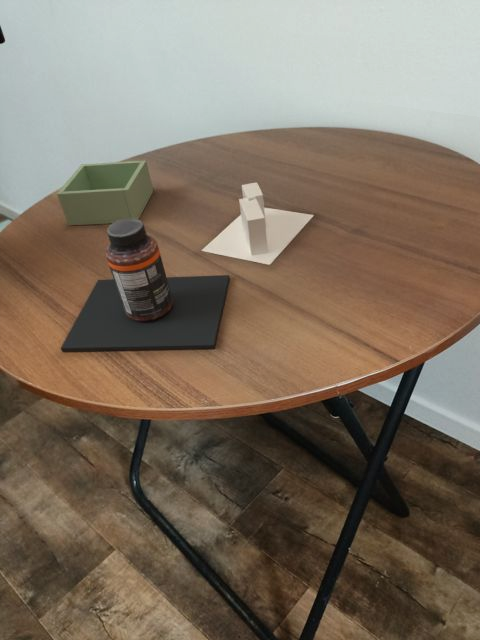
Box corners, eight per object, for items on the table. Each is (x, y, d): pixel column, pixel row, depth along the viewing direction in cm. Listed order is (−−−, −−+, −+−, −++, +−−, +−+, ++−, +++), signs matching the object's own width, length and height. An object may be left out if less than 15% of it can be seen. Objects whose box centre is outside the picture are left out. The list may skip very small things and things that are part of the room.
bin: (68, 225, 85) (56, 193, 81) (91, 194, 93) (81, 164, 90) (137, 222, 83) (128, 189, 80) (153, 190, 92) (146, 160, 88)
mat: (62, 352, 60) (60, 348, 60) (99, 283, 71) (97, 279, 70) (214, 348, 58) (213, 344, 58) (229, 278, 69) (229, 274, 68)
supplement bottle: (136, 293, 67) (111, 212, 59) (180, 295, 66) (160, 213, 58) (117, 322, 63) (88, 239, 55) (164, 325, 61) (140, 240, 54)
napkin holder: (271, 265, 70) (267, 226, 66) (200, 251, 75) (193, 214, 71) (314, 214, 80) (313, 178, 76) (249, 205, 84) (245, 170, 80)
